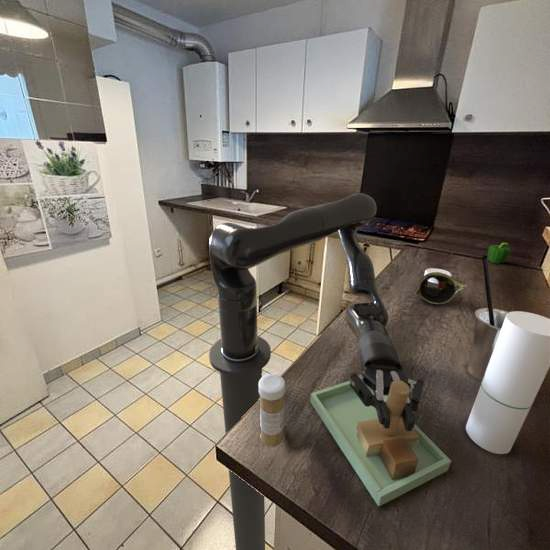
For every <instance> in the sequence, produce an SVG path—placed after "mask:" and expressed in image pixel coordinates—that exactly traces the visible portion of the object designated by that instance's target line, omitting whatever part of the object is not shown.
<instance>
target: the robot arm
mask: <svg viewBox="0 0 550 550" xmlns="http://www.w3.org/2000/svg"><path fill="white" fill-rule="evenodd" d="M377 210H378V206H377V203H376V201H375V200H374V198H373V197H372V196H371V195H368V194H367V193H363V192H358V193H357V192H356V193H353V194H352V195H348V196H347V197H344V198H342V199H340V200H336V201H333V202H332V201H331V202H328V203H323V204H318V205H313V206H309V207H305V208H300V209H297V210H294V211H291V212H289V213H287V214H286V215H285V216H284V217H282V219H281V220H280V221H279V222H277V223H275V224H272V225H267V226H262V227H254V228H251V227H246V226H244V225H240V224H237V223H233V222H223V223H221V224H218V225H217V226H216V227H215V228H214V229H213V231H212V232H211V235H210V237H209V242H208V243H209V244H208V252H209V261H210V268H211V269H210V270H211V276H212V280H213V283H214V285H215V288H216V295H217V304H218V305H217V306H218V318H219V329H220V339H221V343H222V355H223V357H224V358H225V359H226V360H228V361H230V362H234V363H242V362H247V361H249V360H251V359H253V358H254V357H255V356H256V355H257V354H258V347H259V341H258V336H259V335H258V334H259V333H258V298H257V295H258V293H257V291H258V290H257V281H256V279H255V277H254V276H253V275H252V273H251V271H250V269H252V268H255V267H257V266H259V265H261V264H262V263H265V262H267V261H269V260H271V259H273V258H275V257H277V256H279V255H282V254H285V253H288V252H290V251H291V252H292V251H293V250H297V249H299V248H302V247H306V246H309V245H312V244H315V243H317V242H320V241H322V240H324V239H326V238H328V237H330V236H332V235H333V234H335V233H338V235H339V239H340V242H341V247H342V249H343V253H344V256H345V261H346V266H347V268H346V269H347V276H348V287H349V293H350V294H351V295H353V296H354V297H361V298H365V299H367V300H368V301H369V302H359V303H358V302H357V303H351V304H350V305H348V306H347V308H346V309H345V313H344V314H345V315H344V316H345V321H346V324H347V326H348V328H349V329H350V330H351V332H352V333H353V334H354V336H355V337H356V340H357V346H358V347H357V350H358V356H359V360H360V366H361V371H362V372H361V374H357V373H355V372H352V373H350V377H349V381H350V386H351V388H352V389H353V390H354V392H355V393H356V394H357V396H358V397H359V398H360V400H361V401H362V403H363V404H364V405H365V406H367V407H369V406H370V405H371V406H373V407H374V408H375V409H376V411H377V416H378V420H379V422H380V424H383V426H384V428H387V429H389V427H390V422H391V420H390V415H389V411H388V408H387V404H386V402H384V395H387V396H388V394H389V390H390V387H391V383H392V382H393V381H395V380H400V381H403V382H405V383H406V384H407V385H408V386H409V388H410V394H412V397H410V398H409V397H408V398H407V401H406V404H405V407H404V410H403V413H402V420H403V423H404V426H405V429H406V431H412V428H414V425H416V417H415V413H416V412H418V409H419V405H420V403H421V398H422V394H423V390H424V385H425V381H424V380H423V379H420V378H417V379H416V380H413V379H410V378H409V377H408V375H407V374H406V373H405V372H404V370H403V366H402V364H401V361H400V359H399V356H398V354H397V350H396V348H395V346H394V343H393V342H392V340H391V339H390V337H389V334H388V331H387V328H386V326H387V324H388V322H389V314H388V312H387V308H386V306H385V304H384V302H383V301H382V298H381V296H380V293H379V291H378V287H377V282H376V275H375V267H374V264H373V262H372V259H371V257H370V256H369V255H368V253H367V252H366V251H365V250H364V249H363V248H362V246H361V245H360V243H359V240H358V230H359V229H360V228H362V227H363V226H365V225H367V224H368V223H370V222H371V221H372V220H373V219H374V218H375V217H376V214H377ZM364 383H365V384H366V385H367V386H368V387H370V388H371V389H372V390H373V391H374V395H372V393H371V391H370V390H369V389H368V388H367V386H366V385H365V384H364ZM414 412H415V413H414Z"/></svg>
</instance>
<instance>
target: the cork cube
mask: <svg viewBox="0 0 550 550" xmlns="http://www.w3.org/2000/svg"><path fill="white" fill-rule="evenodd" d="M380 459H381V460H382V462H383V464H384V466H385V468H386V470H387V472H388V474H389V475H390V477H391V479H392V480H395V479H400V478H405V477H408V476H410V475H412V474H414V473H415V471H416V467H417V464H418V460H419V459H418V457H417V456H416V454H415V453H414V451H413V450H412V448H411V447H410V445H409V444H408V442H407V441H406V439H405V438H404V437H402V438H396V439H391V440H385V441H383V443H382V448H381V452H380Z"/></svg>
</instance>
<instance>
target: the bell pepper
mask: <svg viewBox="0 0 550 550" xmlns="http://www.w3.org/2000/svg"><path fill="white" fill-rule="evenodd" d="M508 245H509V243H508V242H501V243H500V245H498V244H494V245H492V244H491V245H490V246H488V249H487V258H488V262H490V263H492V264H497V265H498V264H504V263H505V262H506V260H508V257H509V256H510V254H511V248H510V247H508Z"/></svg>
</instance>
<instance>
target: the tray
mask: <svg viewBox="0 0 550 550" xmlns="http://www.w3.org/2000/svg"><path fill="white" fill-rule="evenodd" d="M364 384H365V383H364ZM365 385H366V384H365ZM366 386H367V385H366ZM367 388H368V389H369V390H370V391H371V393H372V395H374V391H373V390H372V389H371V388H370V387H368V386H367ZM387 397H388V395H384V402H386V401H387ZM309 401H310V404H311V406H312V407H313V408H314V409H315V412H316V413H317V414H318V416H319V418H320V419H321V421H322V422H323V423H324V425H325V427H326V429H327V430H328V431H329V433H330V435H331V436H332V438H333V439H334V441H335V442H336V444H337V445H338V447H339V448H340V450H341V451H342V453H343V454H344V456H345V457H346V459H347V461H348V462H349V463H350V466H351V467H352V468H353V469H354V471H355V473H356V474H357V476H358V477H359V479H360V480H361V482H362V484H363V485H364V486H365V488H366V490H367V491H368V493H369V494H370V496H371V498H372V499H373V501H374V503H375V504H376V505H377V506H378V507H381V506H383V505H385V504H387V503H388V502H391V501H393V500H394V499H396V498H398V497H401V496H402V495H404V494H406V493H407V492H408V493H409V491H411V490H413V489H415V488H417V487H419V486H421V485H423V484H425V483H427V482H428V481H431V480H433V479H434V478H436V477H438V476H440V475H442V474H444V473H446V472H447V471H449V468H450V466H451V463H452V460H451V459H450V458H449V457H448V456H447V455H446V454H445V453H444V452H443V451H442V450H441V448H439V447H438V445H436V444H435V443H434V441H432V440H431V439H430V438H429V437H428V436H427V434H426V433H424V432H423V431H422V430H421V428H419V426H418V425H417V424H415V425H414V430H415V431H416V433H417V434H418V436H419V438H418V440H417V442H415V443H414V445H413V447H412V450H413V451H414V453H415V454H416V456H417V457H418V459H419V460H418V464H417V467H416V471H415V473H414V474H412V475H410V476H408V477H405V478H400V479H395V480H392V479H391V477H390V475H389V474H388V472H387V470H386V468H385V466H384V464H383V462H382V460H381V459H380V454H375V455H369V456H366V455H365V453H364V450H363V448H362V446H361V444H360V442H359V439H358V437H357V431H358V430H357V428H356V427H357V423H358V422H362V421H369V420H375V419H378V416H377V411H376V409H375V408H374V407H373V406H371V405H370V406H369V407H367V406H365V405H364V404H363V403H362V401H361V400H360V398H359V397H358V396H357V394H356V393H355V392H354V390H353V389H352V388H351V386H350V380H348V381H345V382H341V383H338V384H336V385H333V386H332V385H331V386H330V387H326V388H322V389H320V390H317V391H314V392H310V400H309Z"/></svg>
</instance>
